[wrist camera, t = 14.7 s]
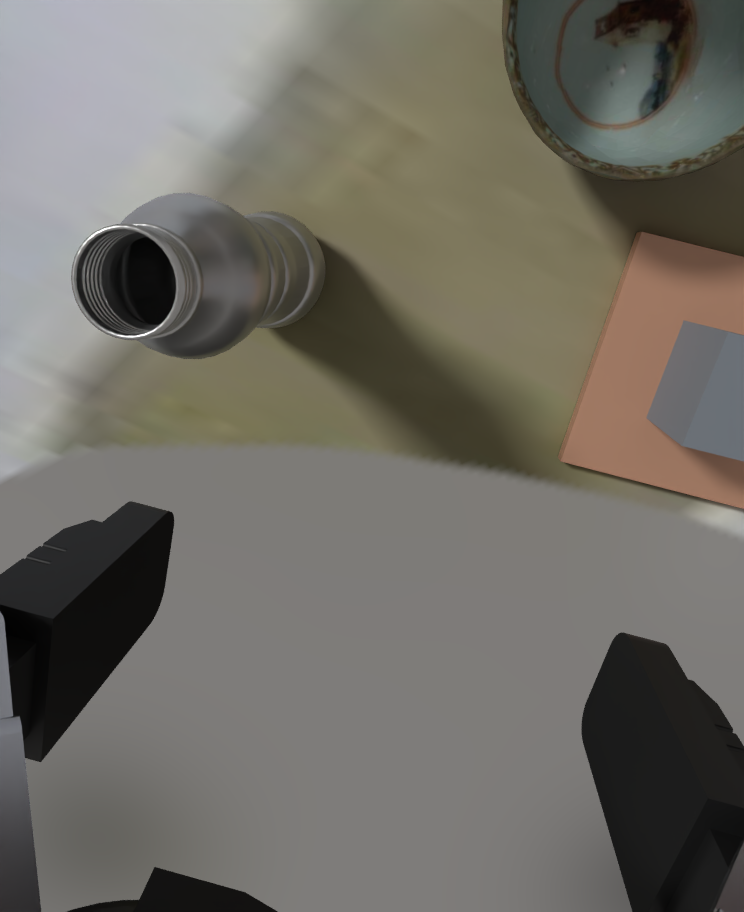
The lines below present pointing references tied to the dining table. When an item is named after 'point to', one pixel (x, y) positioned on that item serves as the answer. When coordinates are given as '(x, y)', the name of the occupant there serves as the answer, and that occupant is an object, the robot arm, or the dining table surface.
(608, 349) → the terracotta tile
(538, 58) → the bowl
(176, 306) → the plastic bottle
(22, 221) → the dining table surface
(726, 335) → the slate cube
